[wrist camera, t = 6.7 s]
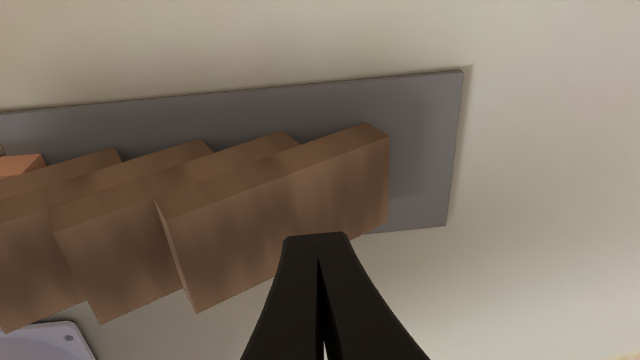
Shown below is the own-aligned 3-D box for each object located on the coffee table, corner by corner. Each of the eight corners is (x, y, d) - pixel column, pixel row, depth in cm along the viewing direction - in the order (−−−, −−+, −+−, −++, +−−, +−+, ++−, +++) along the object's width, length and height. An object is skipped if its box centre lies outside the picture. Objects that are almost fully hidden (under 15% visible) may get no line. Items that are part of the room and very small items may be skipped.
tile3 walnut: (233, 238, 20) (5, 334, 16) (220, 219, 21) (4, 306, 18) (213, 153, 18) (-59, 243, 14) (200, 138, 19) (-55, 217, 15)
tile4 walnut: (152, 247, 20) (-96, 345, 16) (144, 228, 21) (-90, 316, 17) (122, 162, 18) (-178, 256, 14) (114, 146, 19) (-165, 229, 15)
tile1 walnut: (387, 222, 20) (196, 314, 17) (366, 205, 21) (183, 287, 18) (389, 135, 18) (165, 221, 14) (365, 122, 19) (153, 197, 15)
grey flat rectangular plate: (444, 222, 23) (445, 225, 23) (66, 260, 22) (63, 264, 22) (461, 70, 18) (463, 72, 18) (-11, 113, 18) (-15, 116, 18)
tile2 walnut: (309, 230, 20) (100, 324, 17) (292, 212, 21) (93, 297, 18) (301, 144, 18) (53, 233, 14) (281, 130, 19) (48, 208, 15)
